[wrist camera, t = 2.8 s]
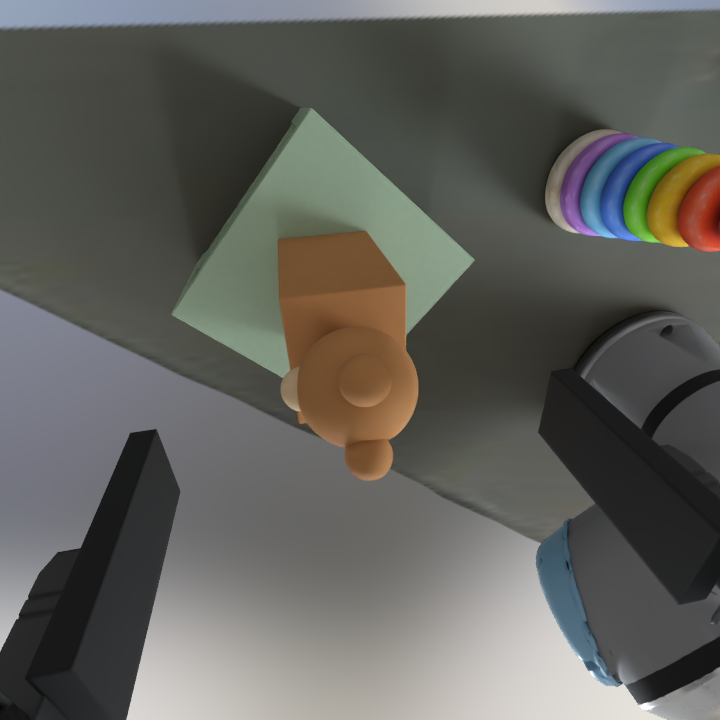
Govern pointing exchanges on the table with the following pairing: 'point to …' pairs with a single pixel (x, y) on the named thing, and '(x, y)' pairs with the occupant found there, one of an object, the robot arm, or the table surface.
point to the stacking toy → (636, 190)
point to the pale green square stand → (310, 218)
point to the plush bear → (346, 345)
